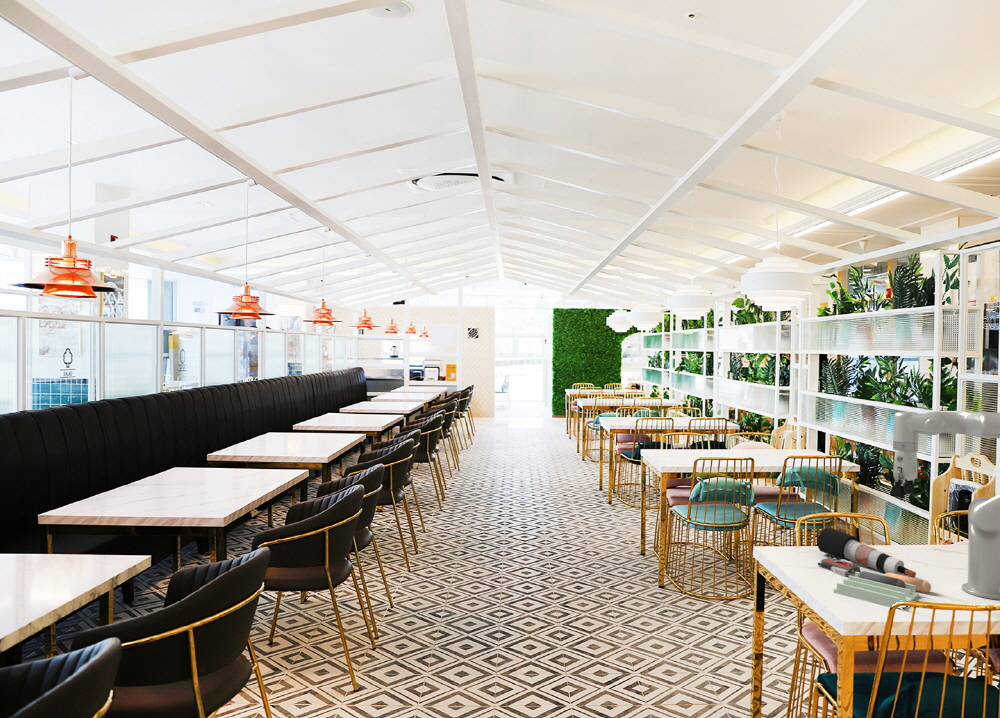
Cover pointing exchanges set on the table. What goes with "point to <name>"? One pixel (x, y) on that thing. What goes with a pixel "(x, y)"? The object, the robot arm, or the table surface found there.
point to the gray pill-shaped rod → (882, 579)
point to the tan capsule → (912, 582)
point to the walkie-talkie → (840, 566)
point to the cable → (859, 552)
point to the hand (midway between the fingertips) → (903, 495)
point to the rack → (875, 591)
